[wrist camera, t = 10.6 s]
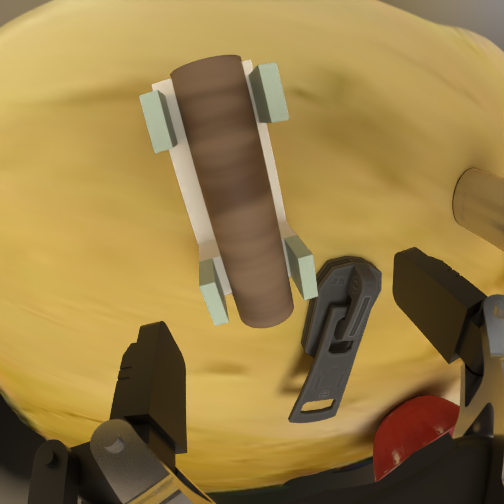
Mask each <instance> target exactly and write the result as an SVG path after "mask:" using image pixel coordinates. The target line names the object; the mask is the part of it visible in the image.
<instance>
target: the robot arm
mask: <svg viewBox="0 0 504 504" xmlns="http://www.w3.org/2000/svg"><path fill="white" fill-rule="evenodd" d="M453 211H454V216H455V219H456V221H457V222H458V224H460V225H461V226H462V227H464V228H466V229H468V230H470V231H471V232H473V233H475V234H476V235H478V236H480V237H481V238H483V239H485V240H486V241H488V242H490V243H491V244H493V245H494V246H496V247H498V248H499V249H501V250H502V251H504V178H502V177H499V176H496V175H494V174H491V173H488V172H485V171H483V170H480V169H476V168H471V169H469V170H467V171H466V172H465V173H464V174H463V175H462V177H461V178H460V180H459V182H458V184H457V187H456V190H455V194H454V201H453ZM393 296H394V299H395V302H396V303H397V305H398V306H399V307H400V308H401V310H402V311H403V312H404V313H405V314H406V315H407V316H408V317H409V318H410V319H411V321H412V322H413V323H414V324H415V325H416V326H417V327H418V328H419V330H420V331H421V332H422V333H423V334H424V335H425V336H426V338H427V339H428V340H429V341H430V342H431V343H432V345H433V346H434V347H435V348H436V349H437V350H438V352H439V353H440V354H441V355H442V356H443V358H444V359H445V360H446V361H447V362H448V364H450V363H452V362H453V361H455V360H456V359H458V358H461V359H462V360H463V362H462V364H461V391H460V411H459V417H458V420H457V423H456V425H455V428H454V432H453V436H452V437H451V435H450V434H449V432H447V433H446V434H444V435H443V436H441V437H439V438H438V439H436V440H435V441H433V442H431V443H430V444H428V445H426V446H425V447H423V448H421V449H419V450H417V451H416V452H414V453H413V454H412V455H410V456H409V457H408V458H407V459H406V460H405V461H403V462H402V463H401V464H400V465H399V466H397V467H396V468H395V469H394V470H392V471H391V472H390V473H388V474H387V475H386V476H385V477H383V478H382V479H381V480H379V481H377V482H375V483H372V484H367V485H360V486H355V487H348V488H341V489H333V490H326V491H323V492H319V493H316V494H313V495H309V496H306V497H302V498H299V499H295V500H291V501H286V502H283V503H280V504H504V295H500V294H495V295H491V296H489V297H487V296H486V295H485V294H484V293H483V292H481V291H480V290H479V289H478V288H476V287H475V286H474V285H473V284H472V283H470V282H469V281H468V280H466V279H465V278H464V277H463V276H460V275H459V273H457V272H456V271H455V270H452V268H451V267H450V266H448V265H447V264H446V263H444V262H443V261H441V260H438V259H436V258H433V257H430V256H427V255H426V254H425V253H423V252H422V251H421V250H419V249H418V248H416V247H412V248H409V249H407V250H404V251H401V252H398V253H396V254H395V256H394V271H393ZM181 453H187V434H186V367H185V362H184V359H183V356H182V353H181V351H180V350H179V348H178V346H177V344H176V342H175V340H174V339H173V337H172V335H171V333H170V331H169V329H168V327H167V325H166V324H165V322H163V321H160V322H155V323H151V324H147V325H143V326H141V327H140V330H139V334H138V339H137V343H132V344H130V346H129V347H128V349H127V350H126V352H125V353H124V355H123V357H122V362H121V366H120V371H119V375H118V381H117V384H116V388H115V393H114V398H113V403H112V408H111V414H110V419H109V420H108V421H106V422H104V423H102V424H101V425H100V426H98V427H97V429H96V430H95V431H94V433H93V435H92V437H91V441H90V442H87V443H84V444H81V445H78V446H75V447H71V448H68V447H67V446H66V445H64V444H63V443H62V442H61V441H59V440H54V439H53V440H48V441H46V442H45V443H43V444H42V445H41V446H40V447H39V449H38V450H37V452H36V455H35V458H34V464H33V469H32V475H31V481H30V489H29V497H28V504H77V500H78V498H79V499H81V500H82V502H81V504H216V503H215V502H213V500H211V499H210V498H209V497H208V496H207V495H206V494H205V493H204V492H203V491H202V490H200V489H199V488H198V487H197V486H196V485H195V484H194V483H193V482H192V481H191V480H190V479H189V478H188V477H187V476H186V475H185V474H184V473H183V472H182V471H181V470H180V469H179V468H178V467H177V466H176V465H175V454H181Z"/></svg>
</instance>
